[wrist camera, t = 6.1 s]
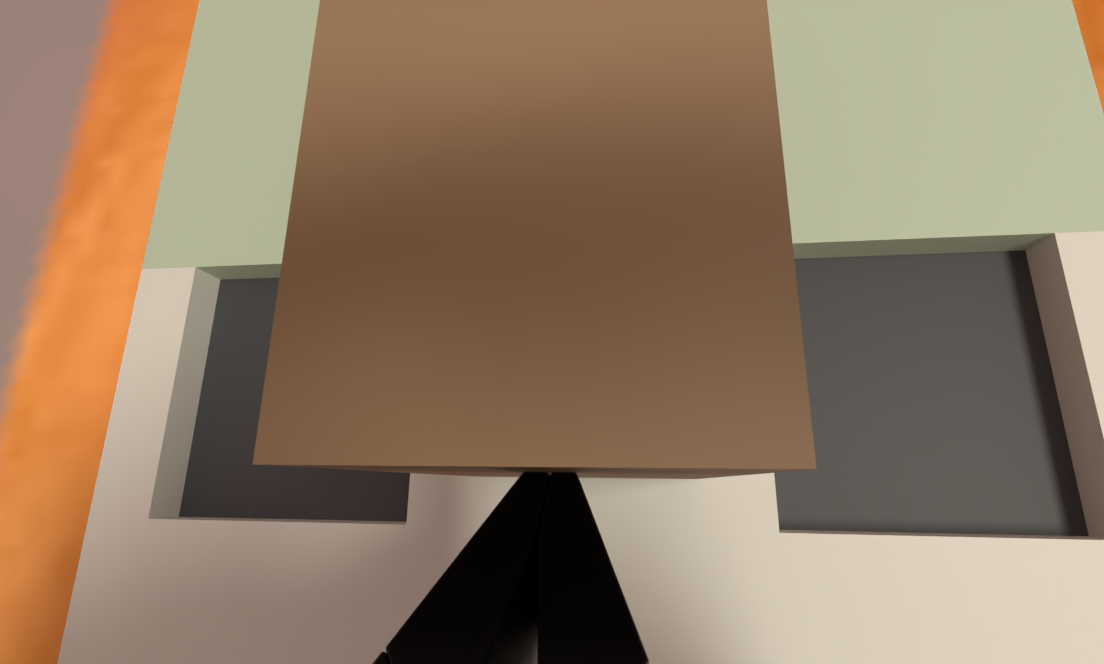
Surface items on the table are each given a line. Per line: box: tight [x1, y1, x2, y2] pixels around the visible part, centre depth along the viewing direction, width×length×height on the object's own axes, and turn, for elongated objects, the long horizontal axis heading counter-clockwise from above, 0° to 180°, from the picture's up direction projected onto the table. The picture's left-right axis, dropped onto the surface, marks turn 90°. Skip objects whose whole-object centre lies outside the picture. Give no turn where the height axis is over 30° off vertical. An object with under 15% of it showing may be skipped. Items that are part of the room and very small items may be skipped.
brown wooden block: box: [253, 0, 817, 479], centre depth 13 cm, size 15×6×10 cm, turn 179°
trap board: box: [57, 0, 1104, 664], centre depth 17 cm, size 31×30×2 cm
